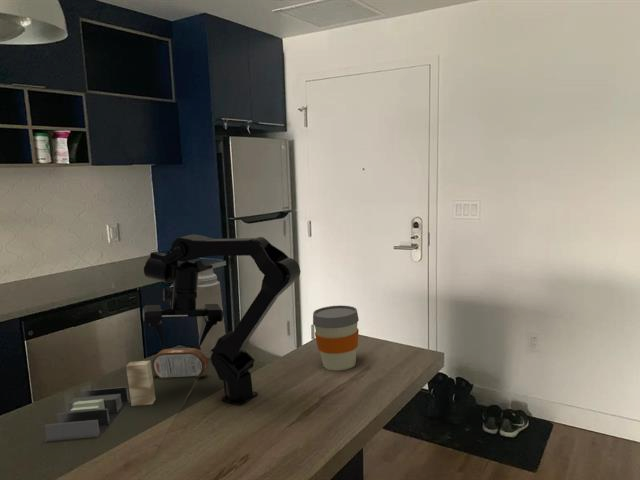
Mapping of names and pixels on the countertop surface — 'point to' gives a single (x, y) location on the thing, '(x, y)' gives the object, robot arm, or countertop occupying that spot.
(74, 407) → the offcuts
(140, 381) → the light wooden block
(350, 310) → the reusable coffee cup
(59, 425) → the rack
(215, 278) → the thermos bottle
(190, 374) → the tin
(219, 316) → the robot arm
